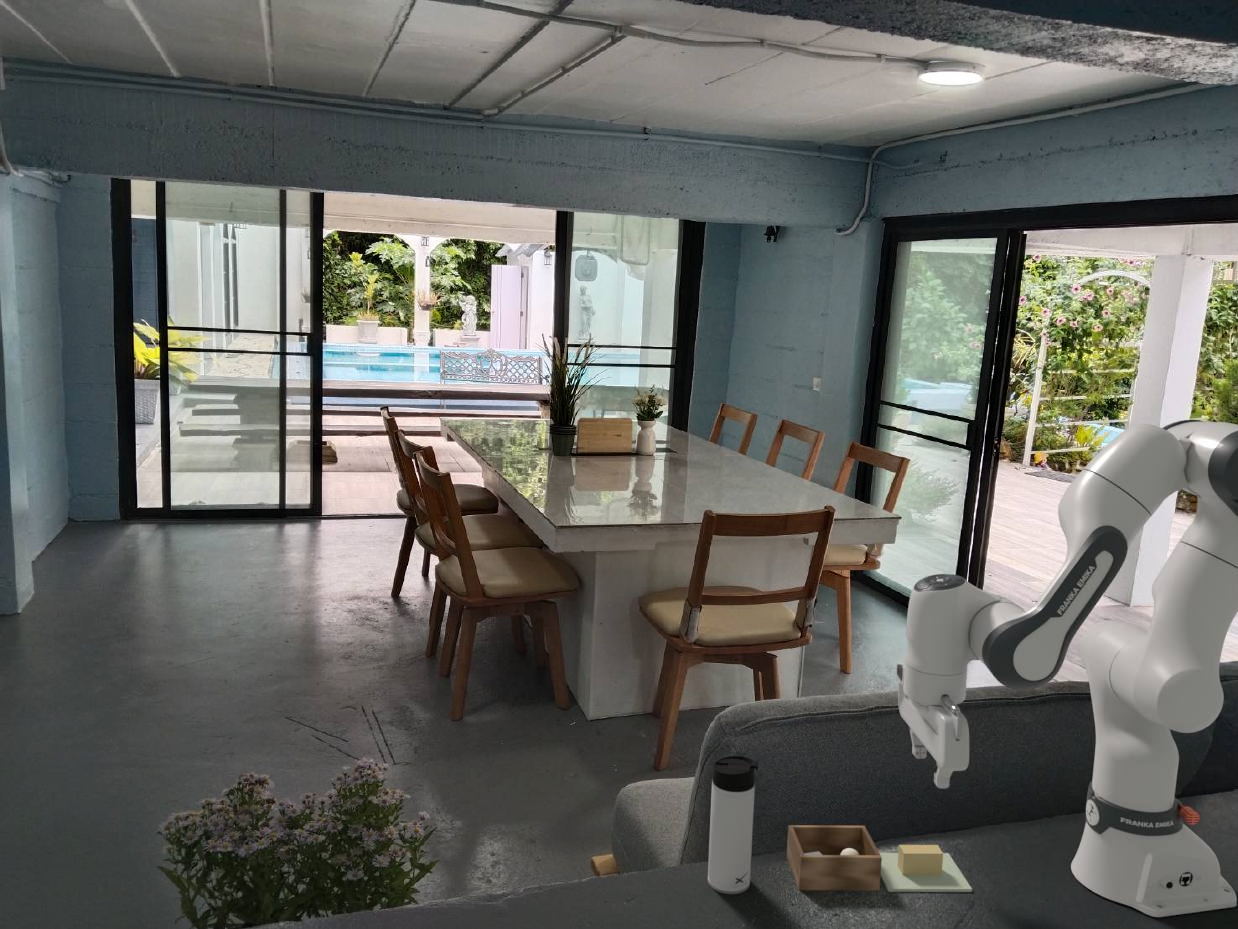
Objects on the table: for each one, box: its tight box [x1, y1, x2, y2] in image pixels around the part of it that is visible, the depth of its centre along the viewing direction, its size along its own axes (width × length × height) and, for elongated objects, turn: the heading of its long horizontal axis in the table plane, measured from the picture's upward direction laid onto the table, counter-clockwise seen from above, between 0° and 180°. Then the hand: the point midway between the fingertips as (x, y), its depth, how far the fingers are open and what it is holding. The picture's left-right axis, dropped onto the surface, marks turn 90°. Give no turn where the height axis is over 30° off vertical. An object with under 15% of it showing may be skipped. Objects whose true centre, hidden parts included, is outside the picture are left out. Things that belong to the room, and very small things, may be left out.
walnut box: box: [786, 824, 882, 891], centre depth 148 cm, size 12×9×6 cm
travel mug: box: [707, 755, 759, 895], centre depth 144 cm, size 6×7×20 cm
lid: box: [879, 844, 973, 893], centre depth 149 cm, size 13×10×5 cm
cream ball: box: [840, 848, 859, 855], centre depth 149 cm, size 3×3×3 cm
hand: (929, 771), depth 146 cm, fingers open, 8 cm apart
